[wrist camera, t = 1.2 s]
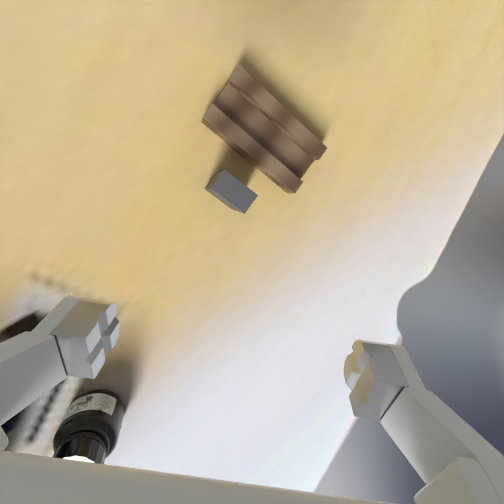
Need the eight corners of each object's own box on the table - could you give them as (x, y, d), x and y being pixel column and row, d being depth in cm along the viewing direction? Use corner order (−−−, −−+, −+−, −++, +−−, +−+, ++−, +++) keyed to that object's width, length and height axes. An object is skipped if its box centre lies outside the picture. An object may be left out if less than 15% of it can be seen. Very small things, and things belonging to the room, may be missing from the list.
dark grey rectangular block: (232, 209, 48) (244, 213, 38) (204, 189, 46) (211, 188, 37) (242, 194, 48) (258, 195, 38) (215, 173, 46) (225, 168, 37)
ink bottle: (116, 380, 49) (96, 437, 38) (134, 419, 51) (121, 485, 40) (56, 402, 47) (17, 468, 36) (78, 442, 50) (48, 516, 38)
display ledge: (201, 121, 44) (203, 116, 41) (235, 73, 44) (239, 63, 40) (287, 193, 50) (295, 193, 46) (317, 150, 49) (327, 147, 46)
